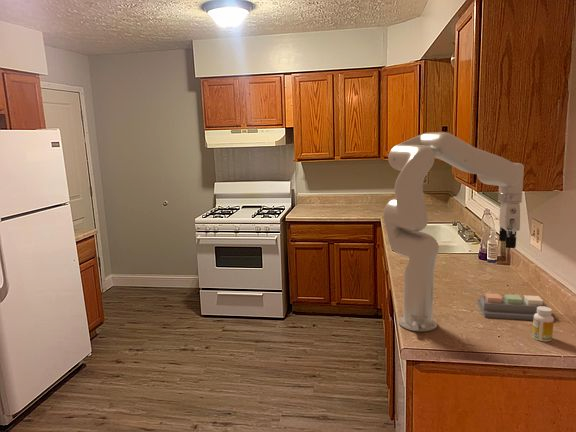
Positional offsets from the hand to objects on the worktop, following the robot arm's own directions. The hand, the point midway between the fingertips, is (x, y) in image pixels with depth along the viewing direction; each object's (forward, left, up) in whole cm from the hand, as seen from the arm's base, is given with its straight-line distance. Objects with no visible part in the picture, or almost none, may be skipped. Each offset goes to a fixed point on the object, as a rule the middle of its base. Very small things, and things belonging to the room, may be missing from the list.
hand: (506, 244), depth 160 cm
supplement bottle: (-27, -5, -23) cm, 36 cm away
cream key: (-7, -8, -21) cm, 23 cm away
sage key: (-7, -1, -21) cm, 22 cm away
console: (-7, -1, -23) cm, 24 cm away
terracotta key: (-7, +5, -21) cm, 22 cm away
